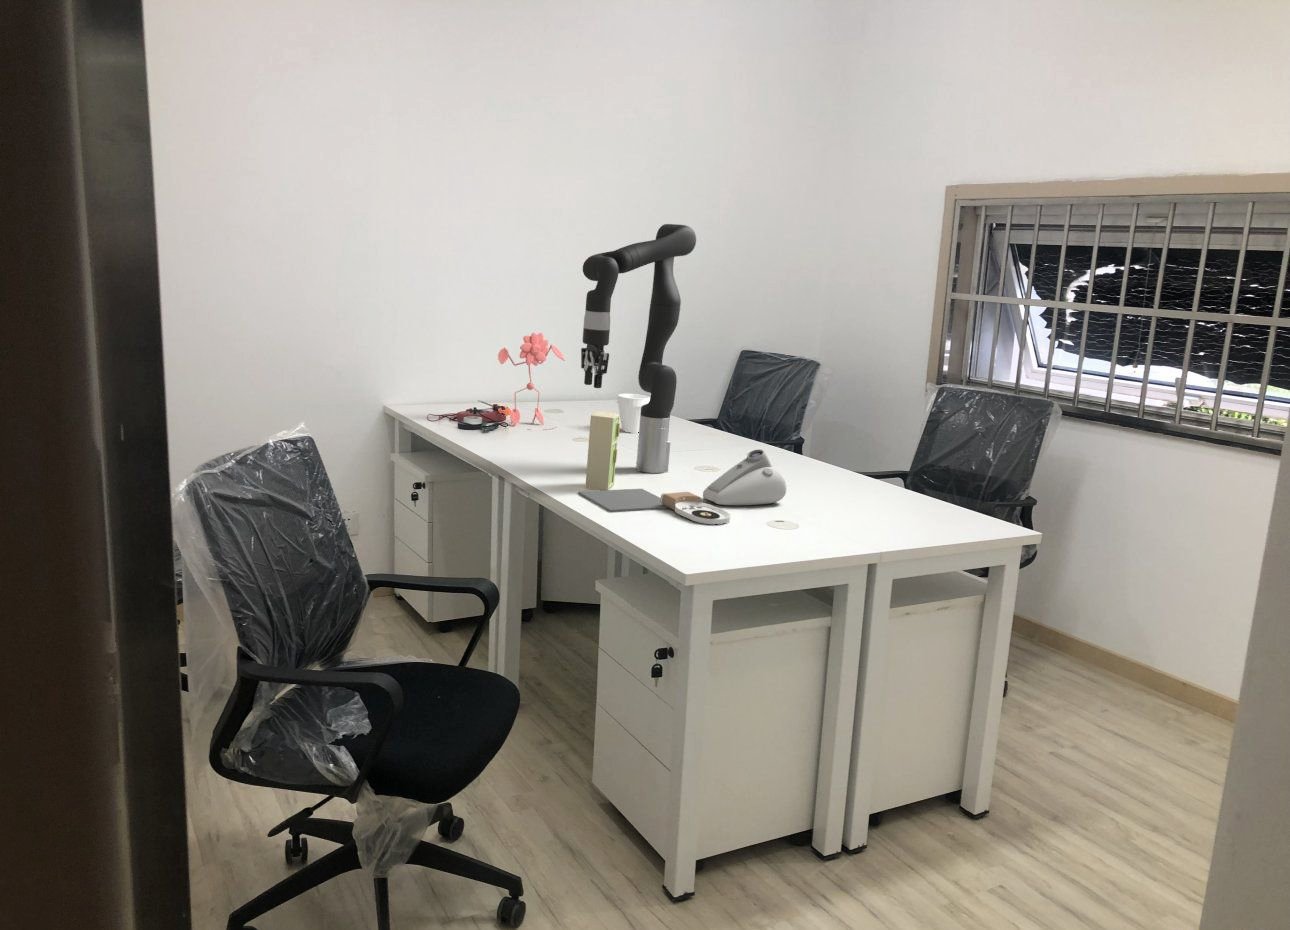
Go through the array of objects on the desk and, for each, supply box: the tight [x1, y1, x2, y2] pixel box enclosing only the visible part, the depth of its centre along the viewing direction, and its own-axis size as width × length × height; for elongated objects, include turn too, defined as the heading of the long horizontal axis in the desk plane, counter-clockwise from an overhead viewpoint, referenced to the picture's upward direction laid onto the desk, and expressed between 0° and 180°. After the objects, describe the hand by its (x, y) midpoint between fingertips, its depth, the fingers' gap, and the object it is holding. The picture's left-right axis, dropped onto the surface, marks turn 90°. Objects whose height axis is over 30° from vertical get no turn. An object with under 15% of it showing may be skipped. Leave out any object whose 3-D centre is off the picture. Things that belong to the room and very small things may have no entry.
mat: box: [577, 488, 672, 513], centre depth 270 cm, size 20×20×1 cm
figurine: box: [497, 332, 565, 431], centre depth 368 cm, size 15×26×35 cm, turn 125°
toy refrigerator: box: [585, 411, 621, 491], centre depth 282 cm, size 8×7×21 cm
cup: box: [616, 393, 651, 434], centre depth 377 cm, size 12×12×14 cm
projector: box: [702, 449, 787, 506], centre depth 281 cm, size 22×23×15 cm
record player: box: [660, 490, 731, 525], centre depth 261 cm, size 12×3×20 cm
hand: (592, 386), depth 287 cm, fingers open, 5 cm apart
